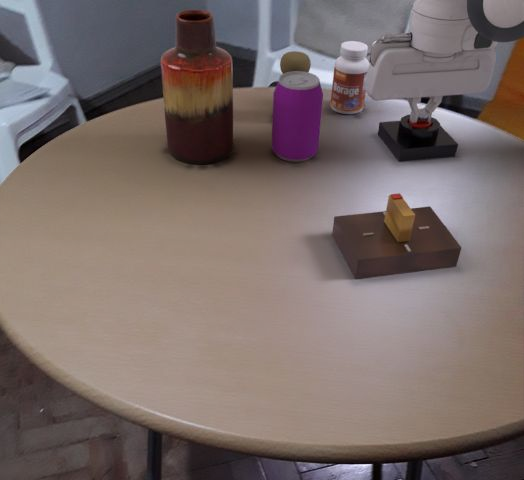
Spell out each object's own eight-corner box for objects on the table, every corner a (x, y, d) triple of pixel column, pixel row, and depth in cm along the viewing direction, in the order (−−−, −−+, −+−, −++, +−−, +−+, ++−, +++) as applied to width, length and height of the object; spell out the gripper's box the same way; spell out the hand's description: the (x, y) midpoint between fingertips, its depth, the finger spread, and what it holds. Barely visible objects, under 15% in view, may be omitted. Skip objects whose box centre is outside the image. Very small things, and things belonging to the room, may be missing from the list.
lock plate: (425, 224, 89) (430, 205, 87) (456, 266, 83) (462, 246, 80) (331, 235, 87) (334, 215, 85) (355, 279, 80) (358, 259, 78)
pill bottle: (325, 111, 115) (331, 48, 107) (335, 99, 119) (342, 37, 112) (358, 118, 114) (366, 54, 106) (367, 105, 118) (376, 42, 110)
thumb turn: (409, 241, 81) (415, 212, 78) (397, 242, 81) (403, 214, 78) (394, 220, 84) (400, 192, 82) (383, 221, 84) (388, 193, 81)
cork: (288, 127, 110) (291, 63, 103) (268, 114, 114) (271, 51, 106) (315, 120, 113) (321, 56, 105) (296, 107, 116) (299, 45, 109)
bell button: (424, 125, 107) (426, 115, 105) (432, 135, 104) (434, 125, 103) (404, 127, 106) (406, 117, 105) (412, 136, 103) (414, 126, 102)
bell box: (430, 129, 111) (435, 107, 108) (455, 156, 104) (461, 133, 101) (377, 134, 109) (381, 111, 106) (398, 161, 102) (403, 138, 100)
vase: (193, 171, 98) (185, 33, 84) (155, 146, 104) (141, 12, 90) (246, 151, 104) (247, 17, 89) (207, 128, 109) (202, -1, 95)
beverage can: (298, 137, 108) (303, 65, 99) (327, 156, 103) (334, 82, 95) (262, 149, 104) (264, 75, 96) (289, 168, 100) (294, 93, 92)
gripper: (380, 42, 90) (366, 134, 100) (509, 35, 93) (484, 125, 103) (365, 27, 94) (353, 117, 104) (489, 21, 98) (466, 109, 108)
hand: (419, 121), depth 104 cm, fingers closed, pressing on bell button
